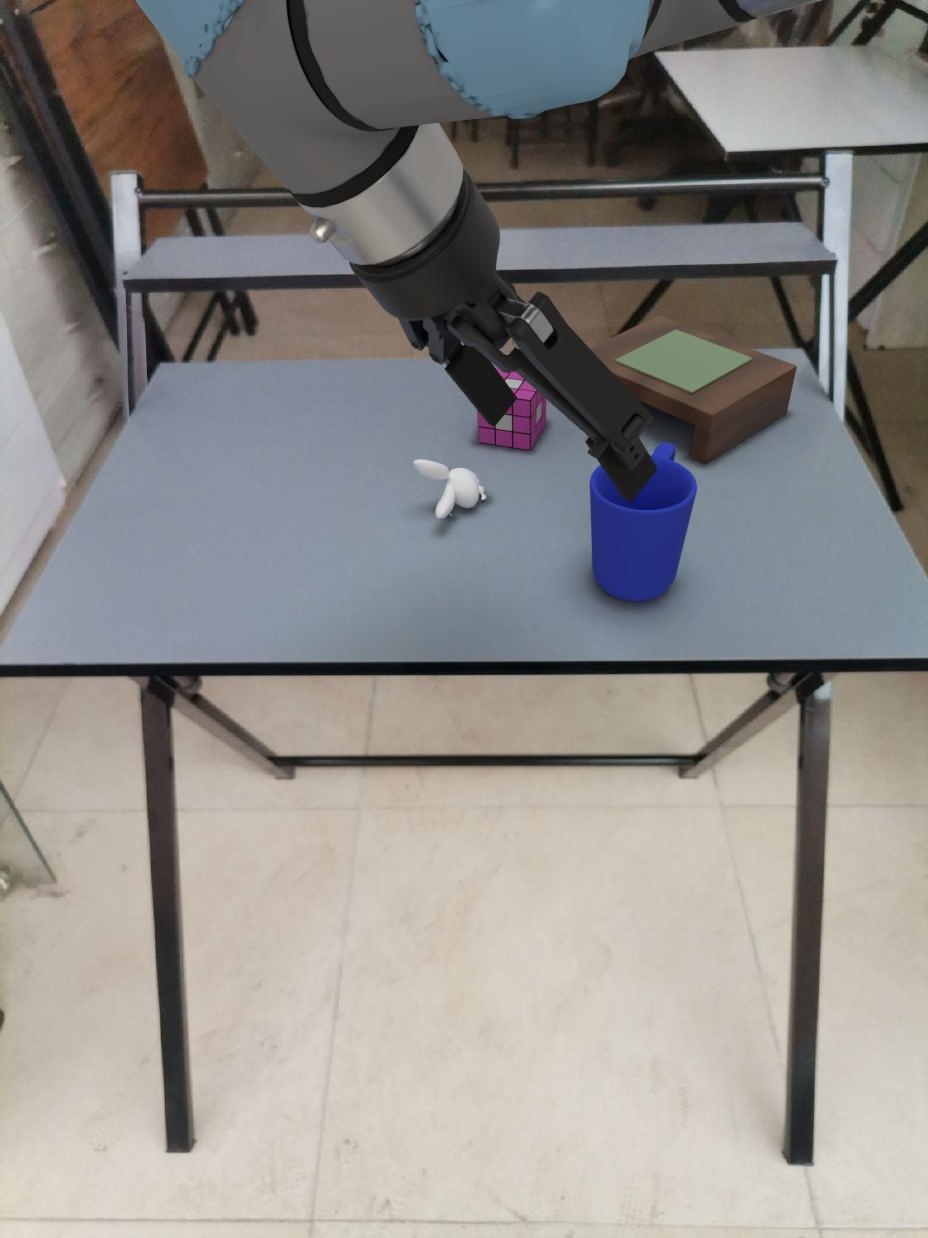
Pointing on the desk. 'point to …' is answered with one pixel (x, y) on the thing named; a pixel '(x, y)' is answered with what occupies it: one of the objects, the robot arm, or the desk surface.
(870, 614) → the desk surface
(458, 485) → the rabbit figurine
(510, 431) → the puzzle toy
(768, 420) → the shelf
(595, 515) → the mug
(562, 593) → the desk surface
